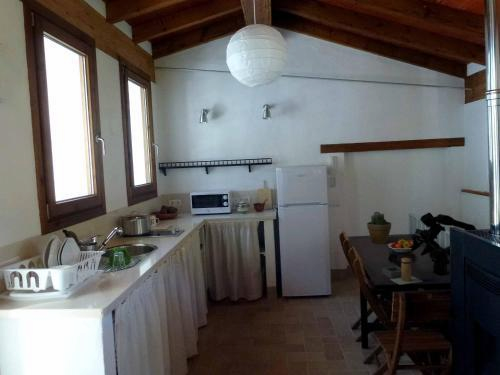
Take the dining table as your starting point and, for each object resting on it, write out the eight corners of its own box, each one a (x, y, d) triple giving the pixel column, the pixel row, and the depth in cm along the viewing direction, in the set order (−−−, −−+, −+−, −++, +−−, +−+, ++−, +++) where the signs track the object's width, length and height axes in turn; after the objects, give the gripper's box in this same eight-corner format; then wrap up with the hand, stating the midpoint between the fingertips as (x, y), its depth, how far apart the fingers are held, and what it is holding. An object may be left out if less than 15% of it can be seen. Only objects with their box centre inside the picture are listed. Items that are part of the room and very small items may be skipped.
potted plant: (363, 240, 316) (362, 210, 314) (385, 238, 318) (384, 208, 316) (373, 245, 297) (372, 213, 295) (396, 243, 299) (395, 212, 297)
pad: (412, 278, 219) (412, 276, 219) (422, 282, 211) (422, 281, 211) (390, 281, 217) (390, 279, 217) (399, 286, 208) (399, 284, 208)
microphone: (405, 274, 236) (393, 261, 256) (408, 265, 235) (396, 253, 255) (397, 272, 236) (385, 259, 256) (400, 263, 235) (388, 251, 254)
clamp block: (397, 271, 232) (397, 265, 232) (408, 277, 221) (408, 270, 221) (380, 274, 230) (380, 267, 229) (390, 279, 219) (390, 273, 219)
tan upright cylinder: (407, 278, 217) (407, 257, 216) (413, 281, 212) (413, 259, 210) (399, 279, 216) (398, 258, 215) (404, 282, 211) (404, 260, 209)
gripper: (413, 221, 229) (397, 241, 228) (434, 226, 211) (417, 248, 210) (425, 232, 231) (409, 252, 230) (447, 239, 213) (430, 260, 212)
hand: (416, 253), depth 221 cm, fingers open, 9 cm apart
